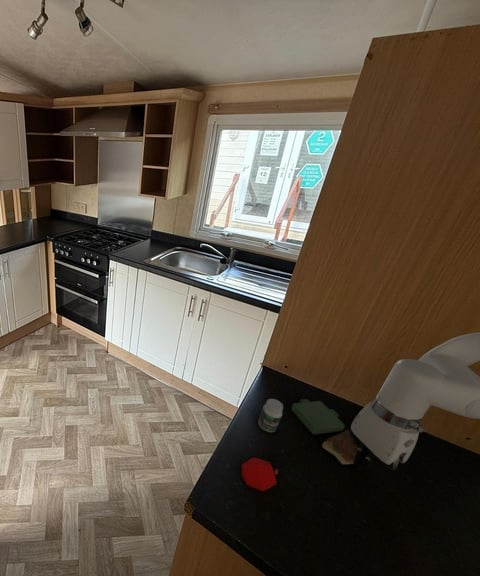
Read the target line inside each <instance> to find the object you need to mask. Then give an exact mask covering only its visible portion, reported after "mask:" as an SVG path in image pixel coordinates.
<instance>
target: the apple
mask: <svg viewBox="0 0 480 576" xmlns="http://www.w3.org/2000/svg"><path fill="white" fill-rule="evenodd" d="M278 472H279V469H278V468H275V469H273V466H272V463H271V462H270V461H266V460H263V459H260V458H258V457H252V458H250V459H248V460H247V461H245V462H243V463H241V473H240V475H241V477H242V479H243V481H244V482H245V484H246V486H248V487H251V488H253V489H256V490H258V491H260V492H265V491H267V490H268V489H271V488H272V487H275V486H276V485H277V478H276V475H278Z"/></svg>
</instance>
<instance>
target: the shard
mask: <svg viewBox="0 0 480 576" xmlns="http://www.w3.org/2000/svg"><path fill="white" fill-rule="evenodd" d="M350 429H351V428H350ZM350 429H349V428H348V429H346V430H343V431H342V432H340V433H338V434H335V435H333V436H331V437H329V438H327V439H326V440H325V441H323V443H322V449H324V450H326V451H327V452H329V453H330V454H332V455H333V456H335V459H337V461H339V463H341V465H350V464H351V465H354V463H353V462H354V460H355V456H356V454H357V453H358V450H357V446H358V444H357V442H356V440H355V439H354V436H353V434H352V432H351V431H350Z"/></svg>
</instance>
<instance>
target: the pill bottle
mask: <svg viewBox="0 0 480 576" xmlns="http://www.w3.org/2000/svg"><path fill="white" fill-rule="evenodd" d="M261 409H262V410H261V412H260V415H259V417H258V426H259V428H261V429H262V430H263V431H266V432H267V433H275V432H276V431H277V429H278V427H279V424H280V422H281V420H282V417H283V410H284V405H283V403H282V402H281V401H279V400H278V399H276V398H268V399H267V400H266V402H265V403H264V405H263V406H262V408H261Z"/></svg>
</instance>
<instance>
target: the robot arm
mask: <svg viewBox="0 0 480 576" xmlns="http://www.w3.org/2000/svg"><path fill="white" fill-rule="evenodd" d="M478 362H480V331H477V332H472V333H467V334H463V335H458V336H456V337H453V338H451V339H448V340H447V341H445V342H443V343H441V344H440V345H438V346H435V347H434V348H432V349H430V350H429V351H427V352H426V353H424V354H423V355H422V356H420V358H419V359H418V360H417V359H412V358H403V359H400V360H397V361H396V362H395V364H394V365H393V367H392V368H391V370H390V372H389V374H388V375H387V377H386V379H385V381H384V382H383V384H382V386H381V388H380V389H379V391H378V393H377V395H376V396H375V397H374V399H373V400H372V401H370V402H368V403H367V404H366V405H365V406H364V407H363V408H362V409H361V410H360V411H359V412H358V413H357V415H356V416H355V418H354V419H353V420H352V423H351V425H350V432H351V435H352V436H353V437H355V439H356V440H355V441H356V444H357V450H358V453H357V454H356V456H355V460H354V462H353V463H354V464H353V465H354V466H355V467H356V468H357V469H358V470H366V471H367V470H370V469H372V468H373V466H374V465H375V464H376V463H378V464H382V466H383V467H385V468H386V469H388V470H389V471H392V472H393V471H397V470H398V467H399V463H400V464H404V463H406V462H407V461H408V459H409V458H410V457H411V456H412V453H413V451H414V449H415V447H416V445H417V442H418V439H419V434H421V433H423V432H424V431H425V427H423V426H422V424H421V423H422V421H423V417H424V415H425V414H426V413H427V412H428V410H429V409H430V407H435V408H437V409H440V410H444V411H446V412H449V413H452V414H455V415H458V416H461V417H465V418H468V419H478V420H480V375H478V374H477V373H476V372H474V370H472V369H471V368H470V367H469V366H471V365H474V364H475V363H478Z"/></svg>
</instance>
